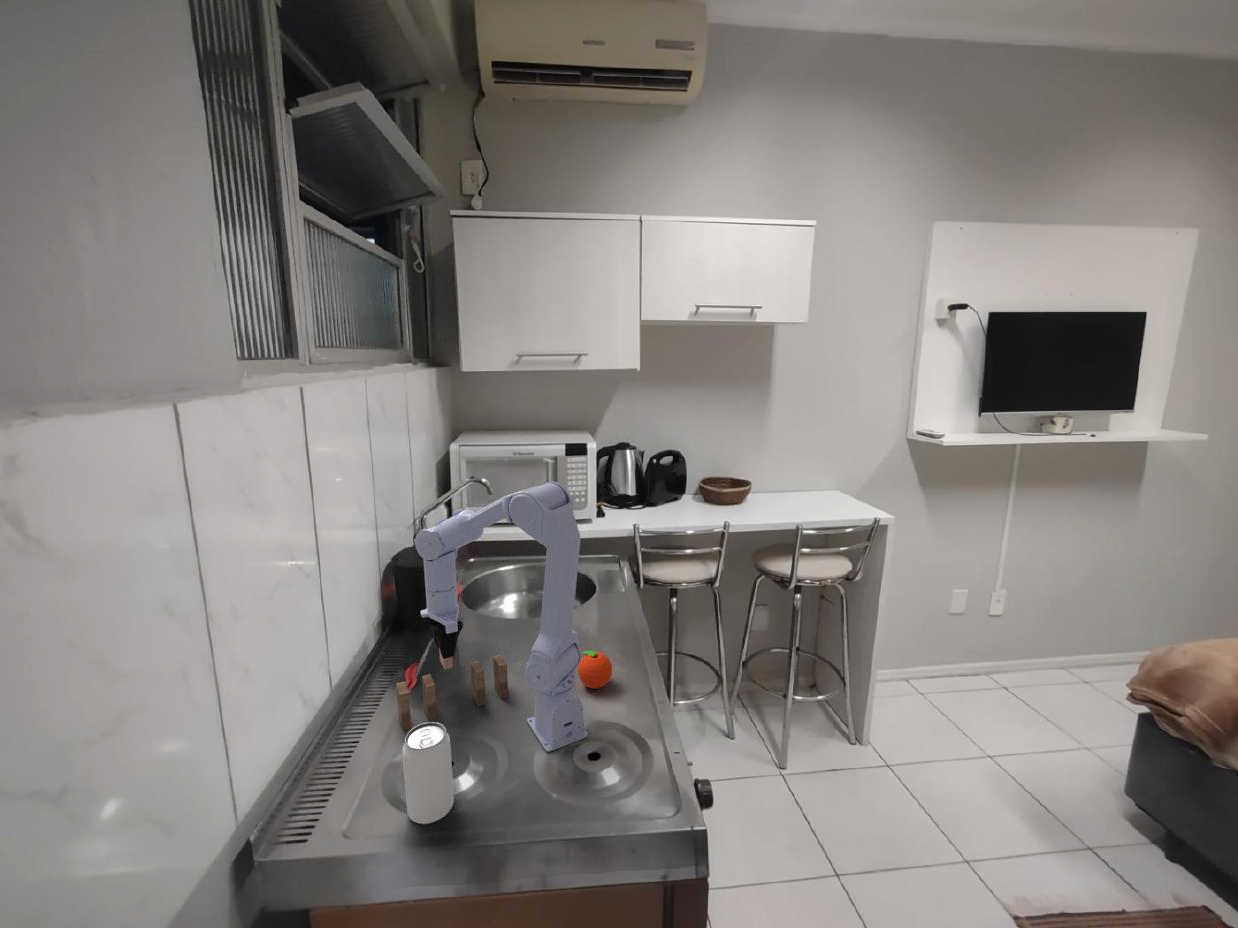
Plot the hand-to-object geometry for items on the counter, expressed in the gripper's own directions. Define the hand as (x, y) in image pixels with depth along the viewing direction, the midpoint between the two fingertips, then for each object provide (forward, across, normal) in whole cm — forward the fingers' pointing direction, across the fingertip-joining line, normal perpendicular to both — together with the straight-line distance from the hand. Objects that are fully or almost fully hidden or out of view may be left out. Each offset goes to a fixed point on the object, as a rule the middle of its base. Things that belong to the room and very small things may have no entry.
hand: (445, 651), depth 105 cm
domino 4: (+9, +6, +4) cm, 11 cm away
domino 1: (+8, +6, -9) cm, 14 cm away
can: (+9, +28, -9) cm, 31 cm away
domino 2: (+8, +6, -4) cm, 11 cm away
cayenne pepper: (+9, -8, -6) cm, 14 cm away
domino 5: (+9, +6, +9) cm, 14 cm away
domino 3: (+3, 0, 0) cm, 3 cm away
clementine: (+9, +13, +26) cm, 30 cm away
